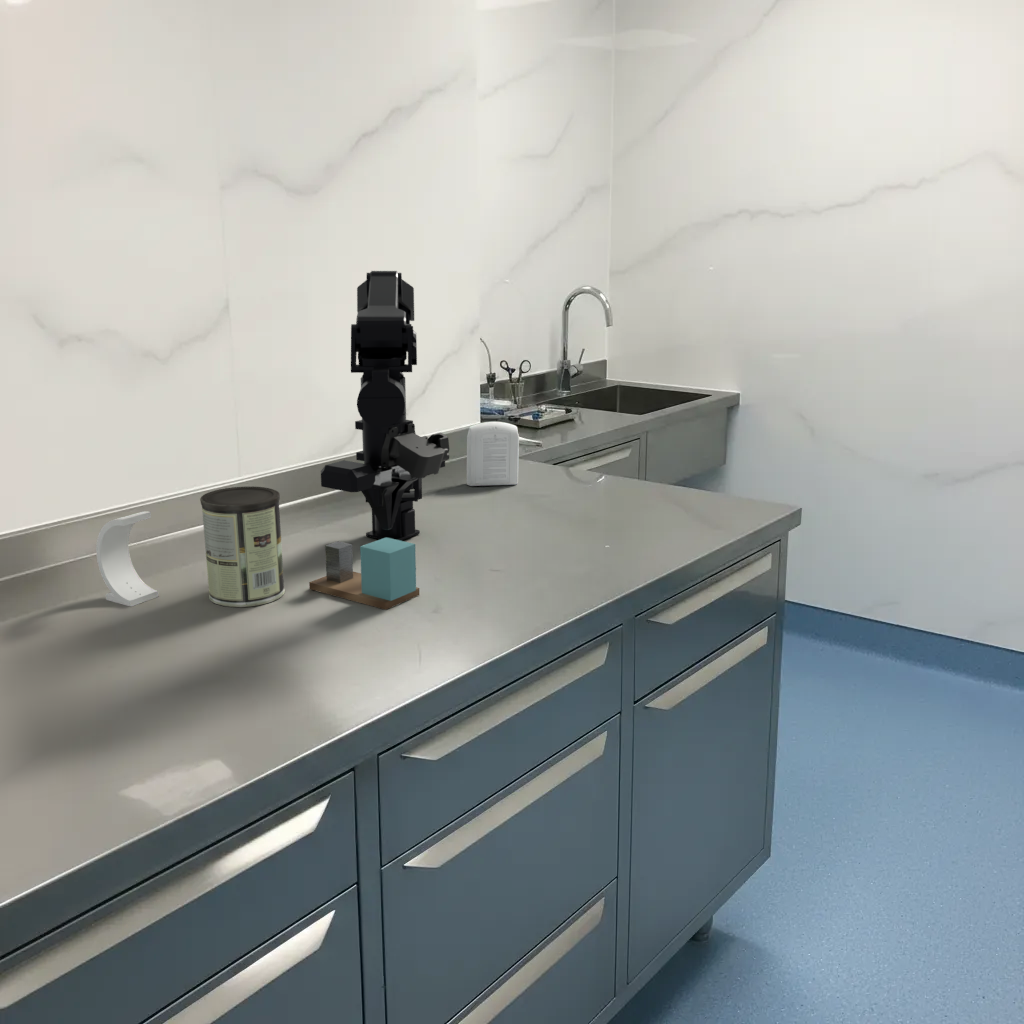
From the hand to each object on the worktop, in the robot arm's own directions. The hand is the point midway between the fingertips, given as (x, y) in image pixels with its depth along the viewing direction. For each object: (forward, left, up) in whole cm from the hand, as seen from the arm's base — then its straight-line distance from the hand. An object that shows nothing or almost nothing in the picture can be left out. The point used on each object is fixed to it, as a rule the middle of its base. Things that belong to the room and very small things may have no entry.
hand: (387, 529), depth 140 cm
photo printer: (-26, +61, -10) cm, 67 cm away
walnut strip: (-5, 0, -10) cm, 11 cm away
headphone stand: (-29, -20, -10) cm, 37 cm away
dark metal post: (-9, 0, -10) cm, 13 cm away
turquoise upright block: (0, 0, -9) cm, 9 cm away
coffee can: (-17, -10, -10) cm, 22 cm away
